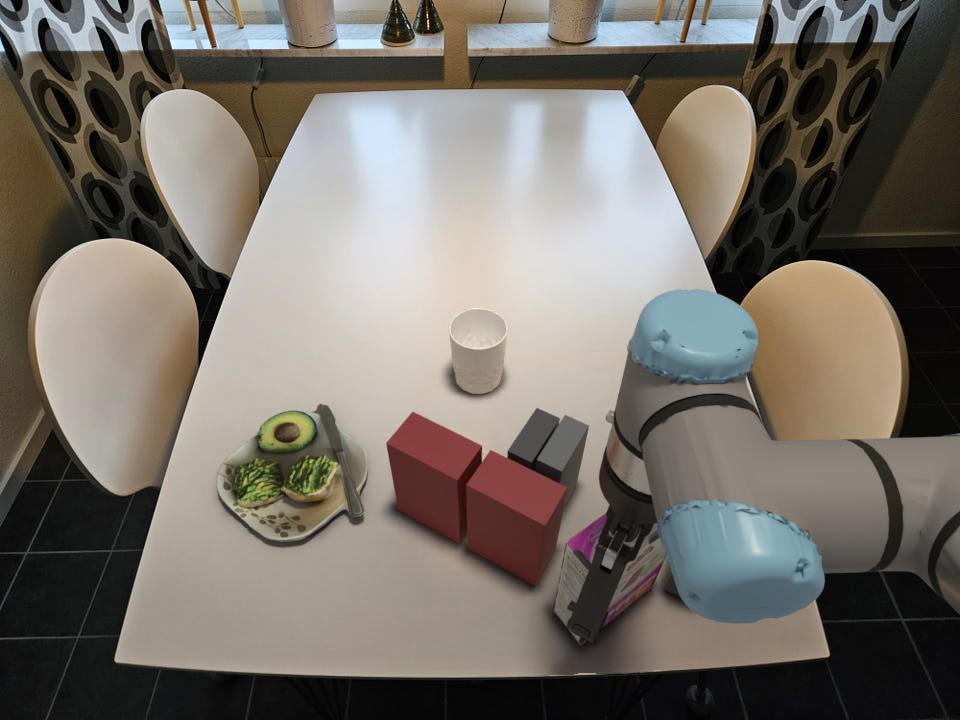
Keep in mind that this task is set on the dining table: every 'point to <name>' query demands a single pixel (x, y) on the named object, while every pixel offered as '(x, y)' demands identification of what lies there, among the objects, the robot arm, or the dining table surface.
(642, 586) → the candy bar box
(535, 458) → the grey boxes
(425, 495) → the maroon boxes
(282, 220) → the dining table surface
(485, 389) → the white cup
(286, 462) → the avocado toast plate
